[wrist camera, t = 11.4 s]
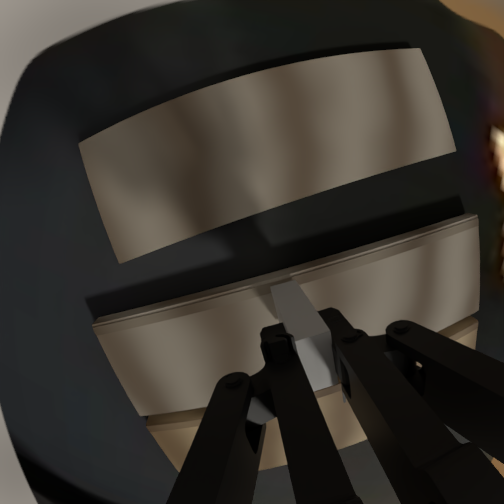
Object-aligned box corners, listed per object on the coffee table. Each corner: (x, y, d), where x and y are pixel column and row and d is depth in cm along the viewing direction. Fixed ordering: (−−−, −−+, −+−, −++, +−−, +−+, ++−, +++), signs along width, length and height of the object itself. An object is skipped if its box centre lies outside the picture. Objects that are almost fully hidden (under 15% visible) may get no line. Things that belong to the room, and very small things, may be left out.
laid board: (186, 471, 22) (185, 481, 21) (148, 415, 21) (145, 425, 19) (461, 382, 23) (468, 389, 22) (469, 315, 21) (478, 320, 20)
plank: (125, 259, 19) (119, 264, 17) (86, 145, 17) (78, 143, 16) (446, 151, 18) (456, 151, 17) (411, 53, 17) (419, 48, 15)
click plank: (143, 406, 20) (140, 416, 19) (98, 317, 19) (91, 325, 17) (470, 305, 21) (479, 310, 19) (467, 213, 19) (477, 215, 18)
